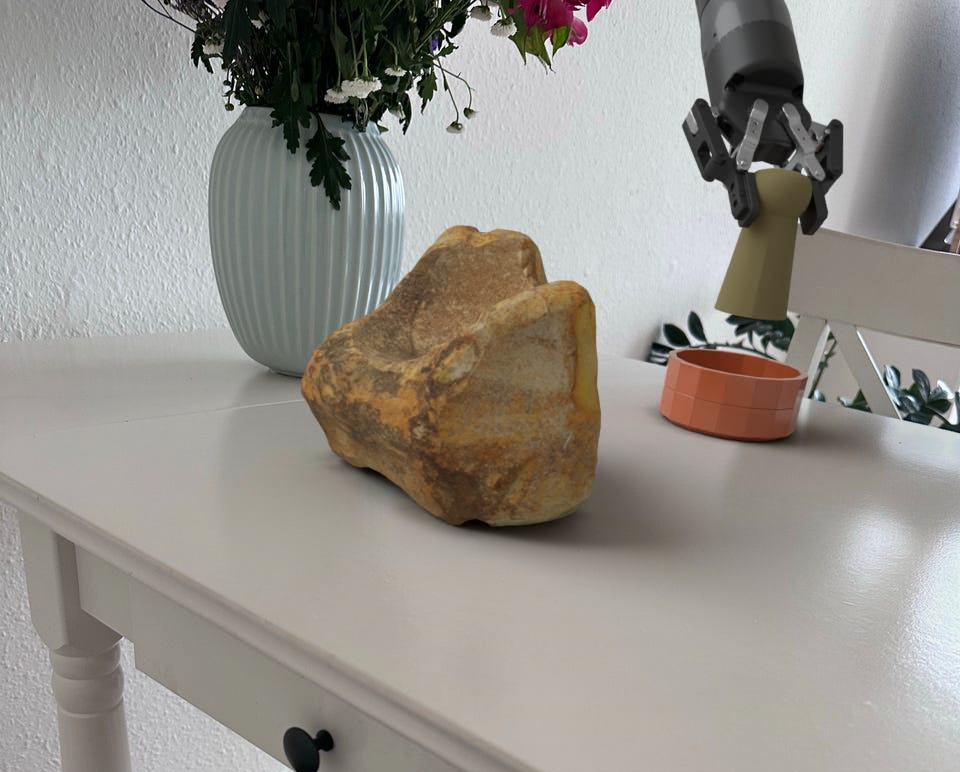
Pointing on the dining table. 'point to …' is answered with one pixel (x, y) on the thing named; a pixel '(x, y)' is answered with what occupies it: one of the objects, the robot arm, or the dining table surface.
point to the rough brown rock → (469, 384)
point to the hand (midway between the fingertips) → (782, 224)
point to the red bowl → (732, 394)
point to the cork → (766, 249)
